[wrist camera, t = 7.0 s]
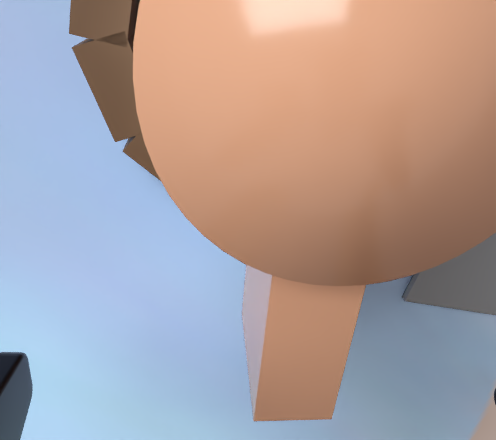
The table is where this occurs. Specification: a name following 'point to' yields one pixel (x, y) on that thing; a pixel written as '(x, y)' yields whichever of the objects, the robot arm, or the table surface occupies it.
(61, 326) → the table surface
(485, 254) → the mat
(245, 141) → the peach rounded piece
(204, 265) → the table surface
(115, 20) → the collar
